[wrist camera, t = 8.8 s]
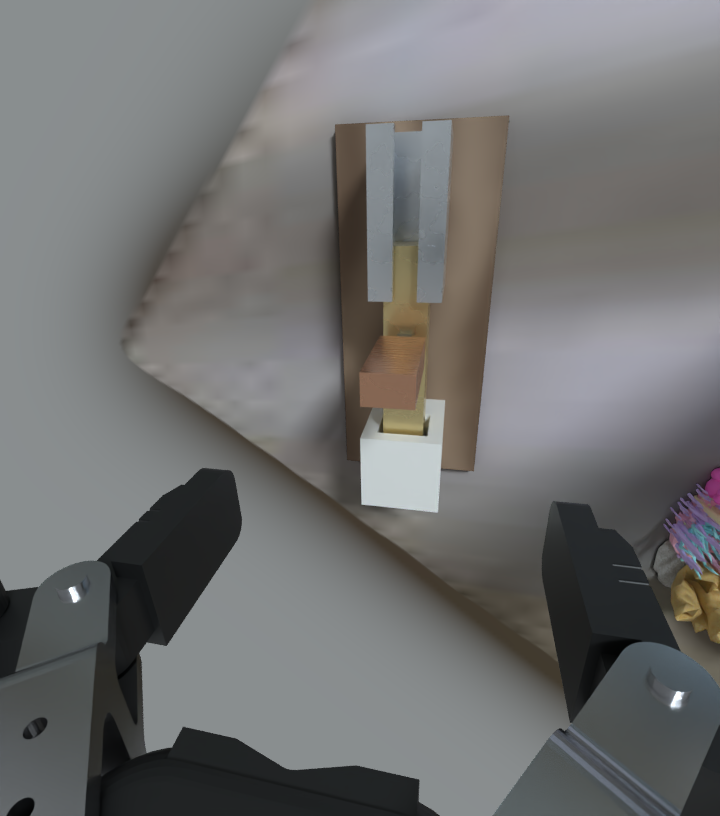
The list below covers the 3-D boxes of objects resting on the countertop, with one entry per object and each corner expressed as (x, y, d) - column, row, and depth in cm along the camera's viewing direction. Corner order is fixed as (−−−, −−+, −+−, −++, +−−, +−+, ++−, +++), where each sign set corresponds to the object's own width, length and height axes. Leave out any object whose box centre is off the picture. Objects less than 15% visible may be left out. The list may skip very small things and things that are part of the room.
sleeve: (453, 135, 32) (451, 119, 25) (445, 283, 36) (441, 303, 29) (384, 138, 32) (365, 124, 26) (384, 282, 37) (367, 301, 30)
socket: (445, 400, 40) (442, 444, 33) (441, 459, 42) (437, 512, 35) (377, 395, 41) (360, 438, 34) (377, 453, 43) (361, 504, 36)
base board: (507, 117, 31) (509, 115, 30) (473, 465, 43) (473, 471, 42) (338, 126, 34) (335, 124, 33) (349, 454, 45) (347, 460, 44)
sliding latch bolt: (433, 241, 31) (421, 264, 21) (424, 454, 39) (411, 548, 28) (389, 241, 32) (356, 263, 22) (387, 451, 39) (362, 542, 29)
